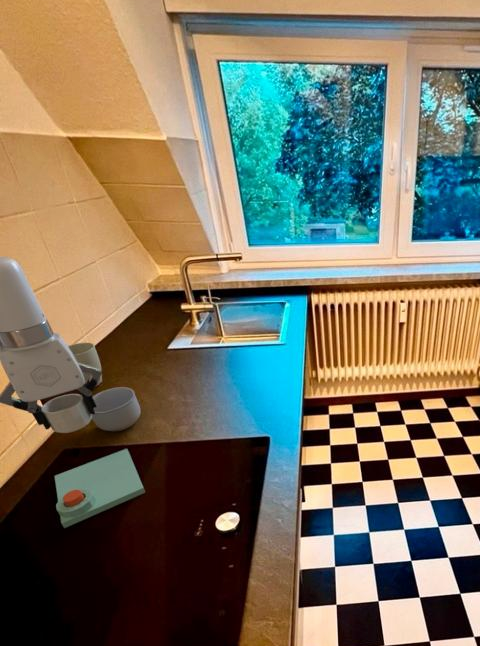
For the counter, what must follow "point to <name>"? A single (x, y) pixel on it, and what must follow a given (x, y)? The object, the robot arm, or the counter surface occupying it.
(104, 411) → the teacup
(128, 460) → the scale
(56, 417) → the bowl
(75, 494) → the tare button
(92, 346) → the mug
